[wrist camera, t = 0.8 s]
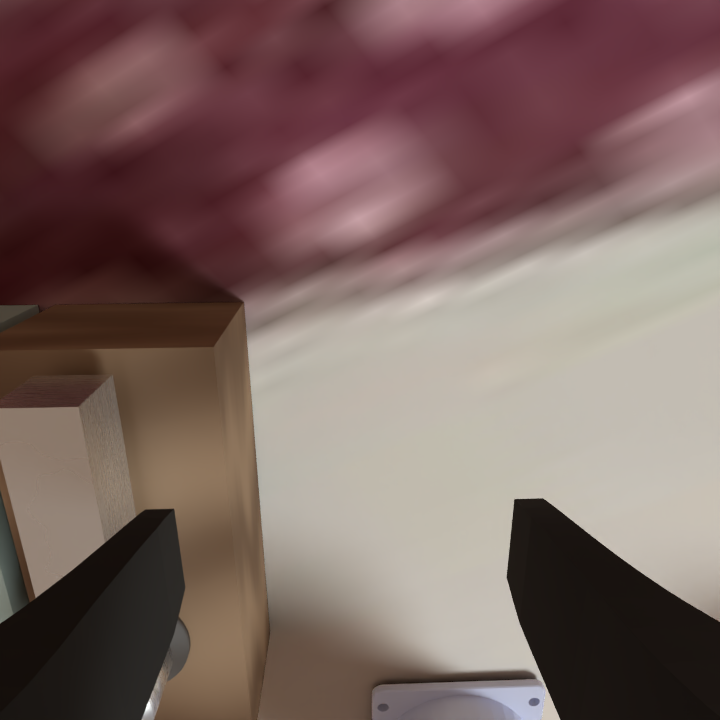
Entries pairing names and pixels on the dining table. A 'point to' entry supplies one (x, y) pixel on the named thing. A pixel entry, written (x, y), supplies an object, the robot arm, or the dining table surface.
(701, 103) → the dining table surface
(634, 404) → the dining table surface
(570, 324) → the dining table surface
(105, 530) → the lock bar
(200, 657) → the jamb
